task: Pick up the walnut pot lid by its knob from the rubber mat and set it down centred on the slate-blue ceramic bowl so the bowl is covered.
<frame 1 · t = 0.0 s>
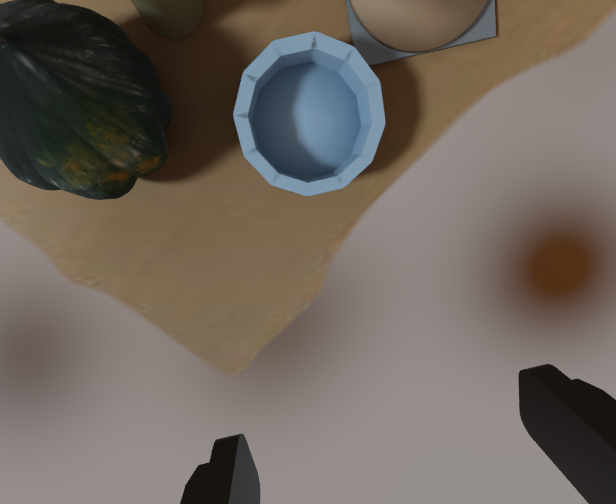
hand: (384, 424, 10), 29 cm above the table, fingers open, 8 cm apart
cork: (171, 1, 31), on the table
squash: (110, 114, 33), on the table
bowl: (306, 124, 34), on the table
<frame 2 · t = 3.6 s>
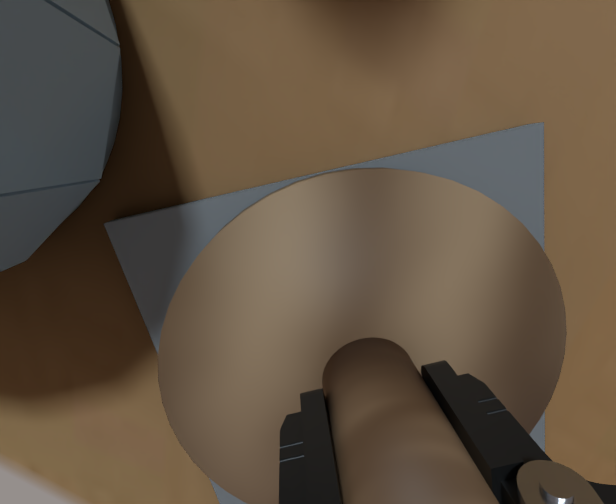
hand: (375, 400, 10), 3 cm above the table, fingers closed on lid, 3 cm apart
mat: (358, 351, 13), on the table
lid: (361, 360, 12), point 1 cm above the table, touching gripper, mat
when the fingers open (9 cm above the table, at t = 7.9 s): lid stays where it is, resting on bowl.
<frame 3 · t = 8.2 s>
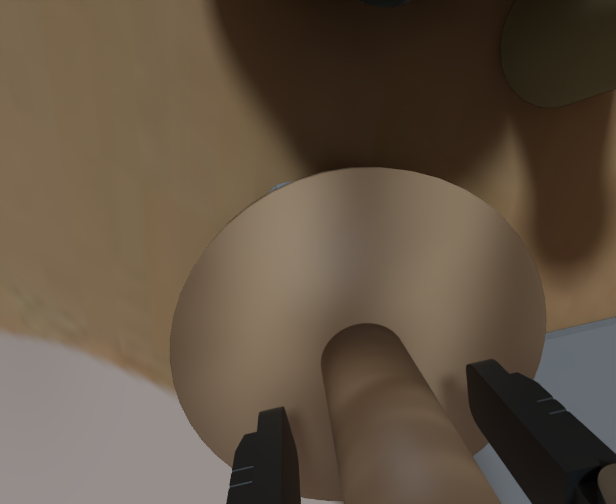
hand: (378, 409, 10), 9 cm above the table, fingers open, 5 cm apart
mat: (529, 425, 23), on the table
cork: (559, 40, 16), on the table
lid: (357, 346, 13), point 6 cm above the table, touching bowl
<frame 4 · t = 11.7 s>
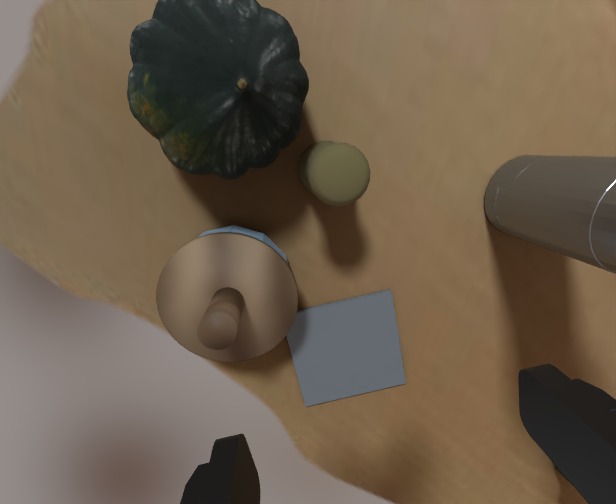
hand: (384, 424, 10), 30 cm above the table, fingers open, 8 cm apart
mat: (345, 349, 44), on the table
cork: (325, 169, 37), on the table
squash: (232, 99, 34), on the table
bowl: (236, 278, 40), on the table
lid: (229, 297, 34), point 6 cm above the table, touching bowl
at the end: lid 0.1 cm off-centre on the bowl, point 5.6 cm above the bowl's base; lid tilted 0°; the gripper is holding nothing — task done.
